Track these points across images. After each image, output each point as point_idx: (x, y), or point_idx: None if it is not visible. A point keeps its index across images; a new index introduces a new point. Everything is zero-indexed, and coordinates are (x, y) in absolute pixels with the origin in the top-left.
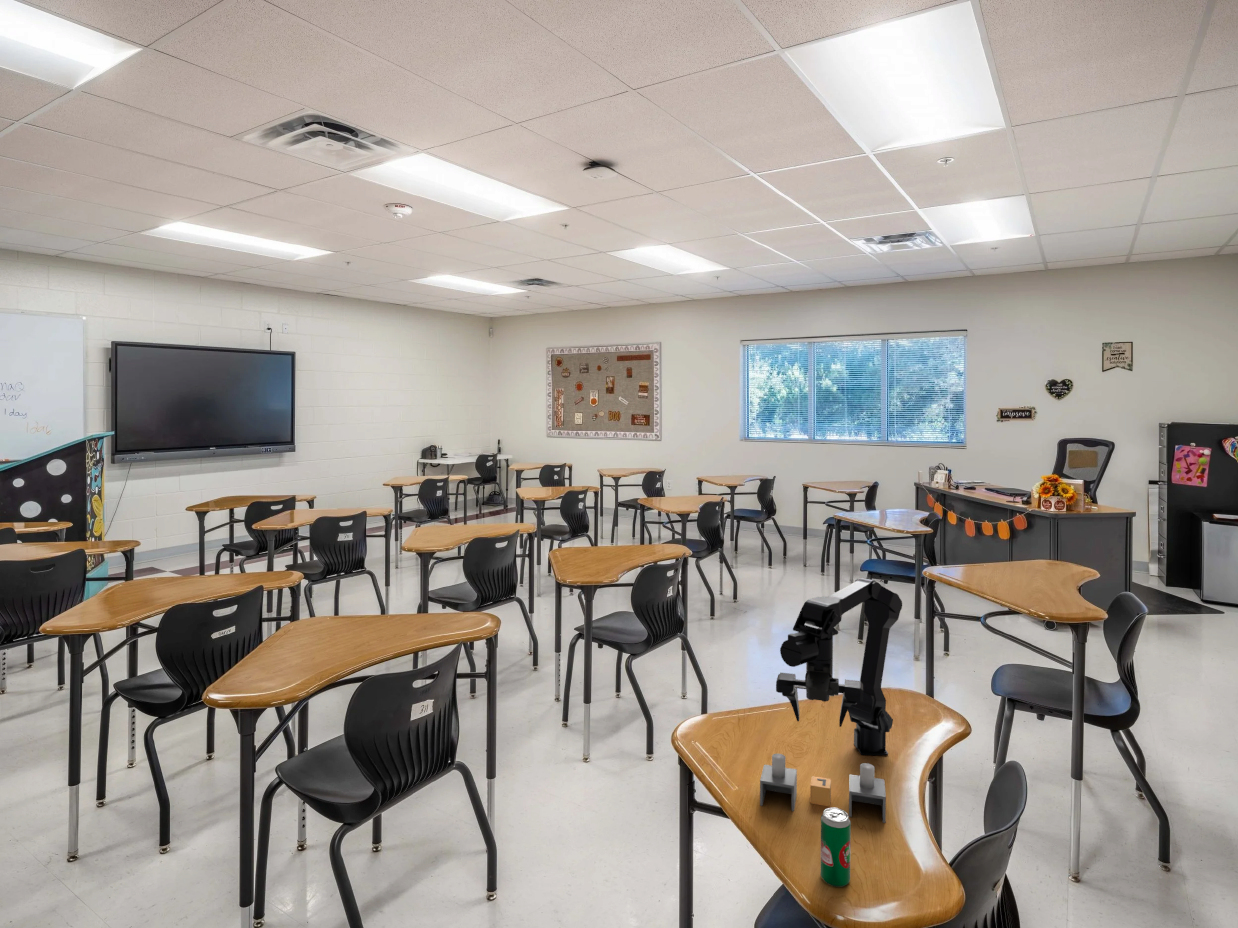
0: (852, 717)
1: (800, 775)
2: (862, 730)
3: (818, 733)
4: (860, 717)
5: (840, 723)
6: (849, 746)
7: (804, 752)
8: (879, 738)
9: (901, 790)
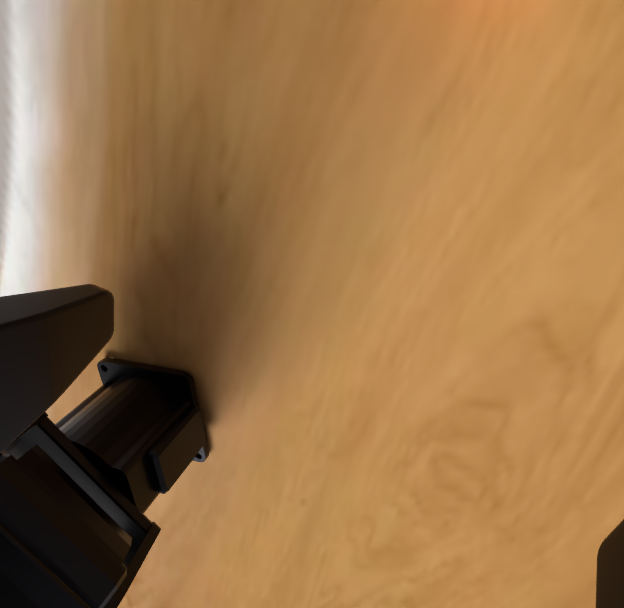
0: (139, 541)
1: (547, 222)
2: (125, 458)
3: (327, 543)
4: (72, 506)
5: (64, 295)
6: (228, 439)
7: (434, 435)
8: (83, 410)
9: (61, 71)
